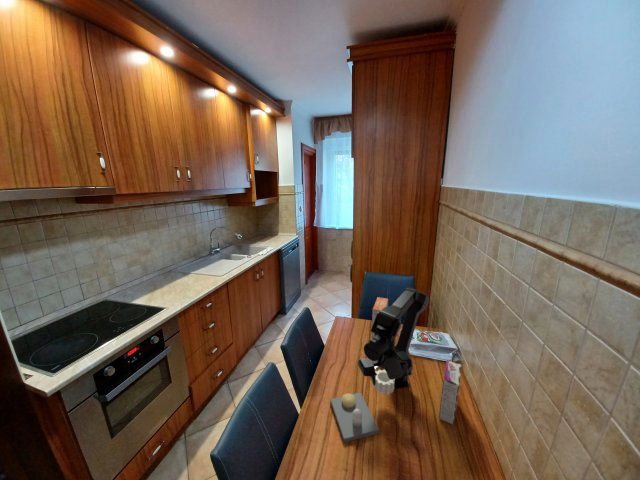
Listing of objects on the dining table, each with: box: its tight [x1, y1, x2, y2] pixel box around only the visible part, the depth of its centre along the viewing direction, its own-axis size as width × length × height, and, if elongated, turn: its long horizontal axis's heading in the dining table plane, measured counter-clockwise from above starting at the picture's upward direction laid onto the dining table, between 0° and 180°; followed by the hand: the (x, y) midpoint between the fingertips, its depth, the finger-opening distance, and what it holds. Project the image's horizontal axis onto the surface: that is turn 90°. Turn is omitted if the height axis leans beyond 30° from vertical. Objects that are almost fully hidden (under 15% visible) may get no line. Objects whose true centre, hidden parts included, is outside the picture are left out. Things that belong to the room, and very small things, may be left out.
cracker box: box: [371, 296, 389, 339], centre depth 126 cm, size 14×6×21 cm, turn 157°
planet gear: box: [373, 369, 395, 396], centre depth 90 cm, size 8×8×4 cm
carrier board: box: [330, 392, 380, 443], centre depth 86 cm, size 12×15×6 cm
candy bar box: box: [438, 359, 462, 426], centre depth 87 cm, size 11×5×16 cm, turn 148°
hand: (383, 382), depth 90 cm, fingers closed on planet gear, 7 cm apart
